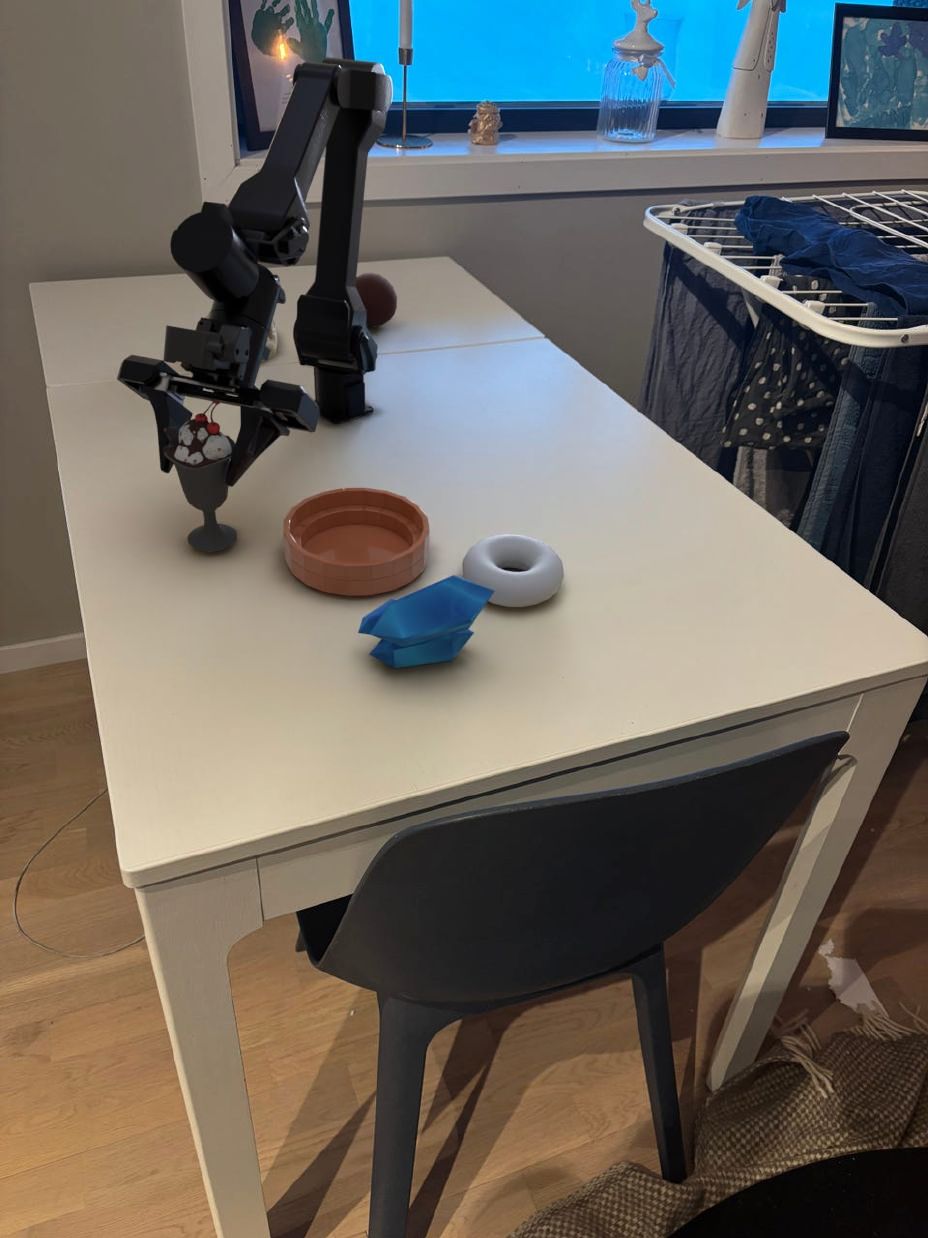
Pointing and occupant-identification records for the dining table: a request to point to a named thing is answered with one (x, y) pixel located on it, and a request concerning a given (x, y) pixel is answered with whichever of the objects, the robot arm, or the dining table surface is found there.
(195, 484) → the sundae
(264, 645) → the dining table surface
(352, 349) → the robot arm
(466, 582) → the crystal
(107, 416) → the dining table surface
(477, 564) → the donut
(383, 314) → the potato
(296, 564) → the bowl
